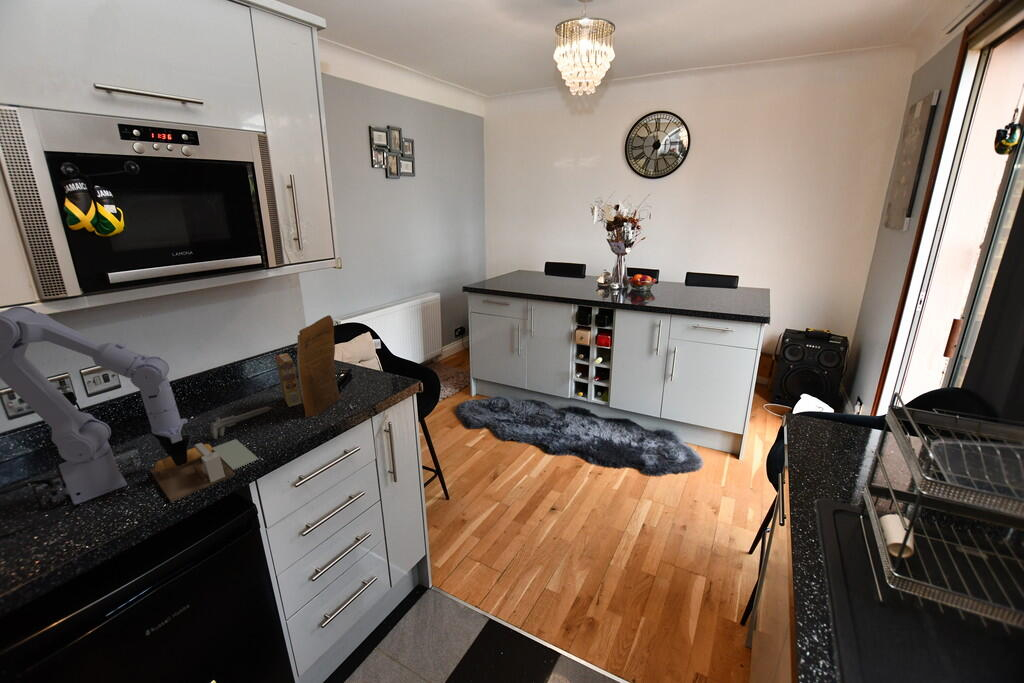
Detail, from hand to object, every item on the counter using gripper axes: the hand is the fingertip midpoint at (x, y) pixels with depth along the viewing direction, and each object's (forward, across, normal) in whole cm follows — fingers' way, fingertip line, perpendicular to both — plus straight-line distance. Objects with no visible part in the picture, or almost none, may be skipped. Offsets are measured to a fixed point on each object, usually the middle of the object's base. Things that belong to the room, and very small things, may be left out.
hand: (177, 458), depth 113 cm
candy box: (+4, +19, -36) cm, 41 cm away
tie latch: (+3, -8, -4) cm, 9 cm away
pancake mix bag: (+4, +6, -41) cm, 42 cm away
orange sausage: (+2, 0, -1) cm, 2 cm away
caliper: (+4, +15, -20) cm, 25 cm away
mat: (+4, -2, -11) cm, 12 cm away
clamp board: (+3, -4, -1) cm, 5 cm away
